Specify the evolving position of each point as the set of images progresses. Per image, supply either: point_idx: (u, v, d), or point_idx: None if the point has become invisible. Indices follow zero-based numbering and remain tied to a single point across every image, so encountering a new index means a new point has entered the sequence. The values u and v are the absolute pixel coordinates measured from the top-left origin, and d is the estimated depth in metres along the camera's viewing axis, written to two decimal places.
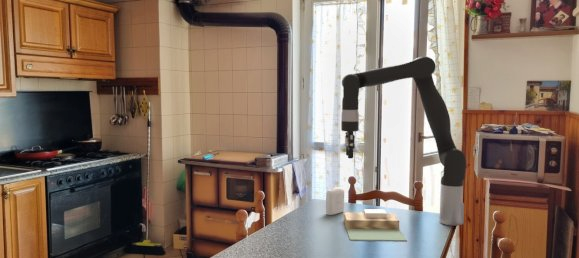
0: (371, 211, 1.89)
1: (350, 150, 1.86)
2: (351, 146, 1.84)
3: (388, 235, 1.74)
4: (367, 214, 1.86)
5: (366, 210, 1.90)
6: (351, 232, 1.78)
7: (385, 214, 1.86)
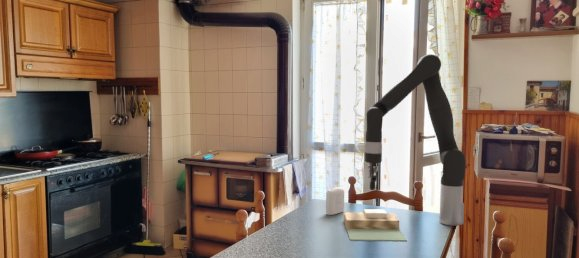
0: (371, 211, 1.89)
1: (372, 182, 1.95)
2: (373, 179, 1.93)
3: (388, 235, 1.74)
4: (367, 214, 1.86)
5: (366, 210, 1.90)
6: (351, 232, 1.78)
7: (385, 214, 1.86)
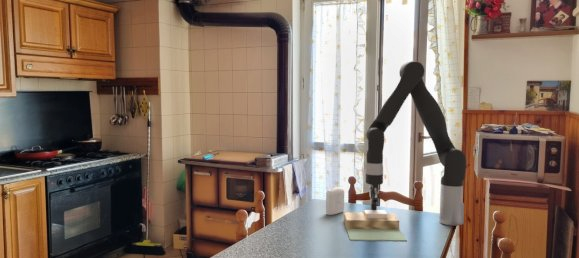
0: (371, 212, 1.88)
1: (373, 204, 1.91)
2: (374, 200, 1.89)
3: (388, 235, 1.74)
4: (367, 215, 1.86)
5: (366, 211, 1.90)
6: (351, 232, 1.78)
7: (385, 215, 1.85)
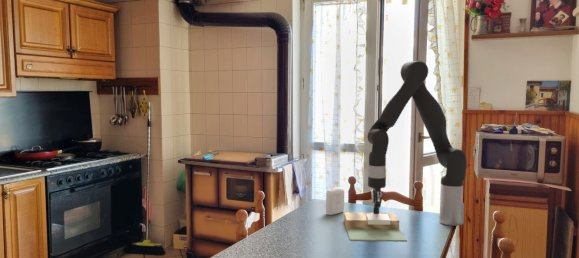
0: (374, 217, 1.81)
1: (376, 208, 1.84)
2: (377, 205, 1.82)
3: (388, 235, 1.74)
4: (370, 221, 1.79)
5: (369, 215, 1.82)
6: (351, 232, 1.78)
7: (388, 221, 1.78)
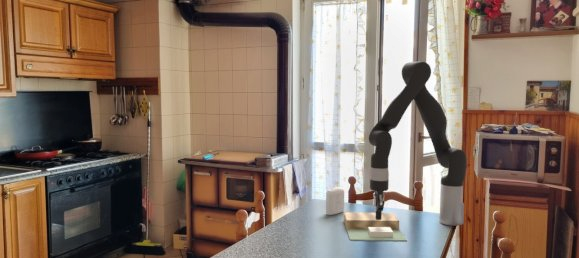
0: None
1: (378, 212, 1.79)
2: (379, 208, 1.77)
3: None
4: None
5: None
6: (351, 232, 1.78)
7: None
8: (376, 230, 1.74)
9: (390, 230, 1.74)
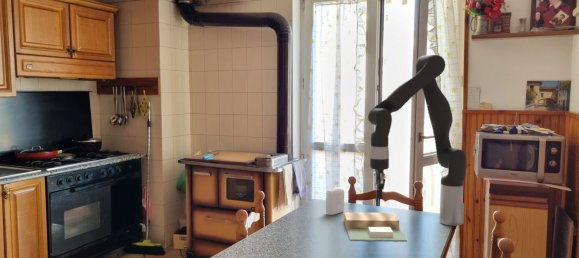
0: None
1: (379, 190, 1.78)
2: (380, 187, 1.76)
3: None
4: None
5: None
6: (351, 232, 1.78)
7: None
8: (376, 230, 1.74)
9: (390, 230, 1.74)
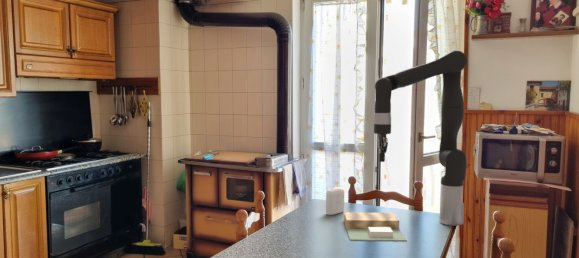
0: None
1: (382, 154, 1.93)
2: (383, 150, 1.91)
3: None
4: None
5: None
6: (351, 232, 1.78)
7: None
8: (376, 230, 1.74)
9: (390, 230, 1.74)
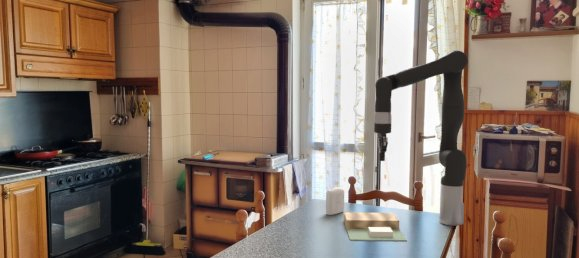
0: None
1: (382, 153, 1.93)
2: (383, 149, 1.92)
3: None
4: None
5: None
6: (351, 232, 1.78)
7: None
8: (376, 230, 1.74)
9: (390, 230, 1.74)
